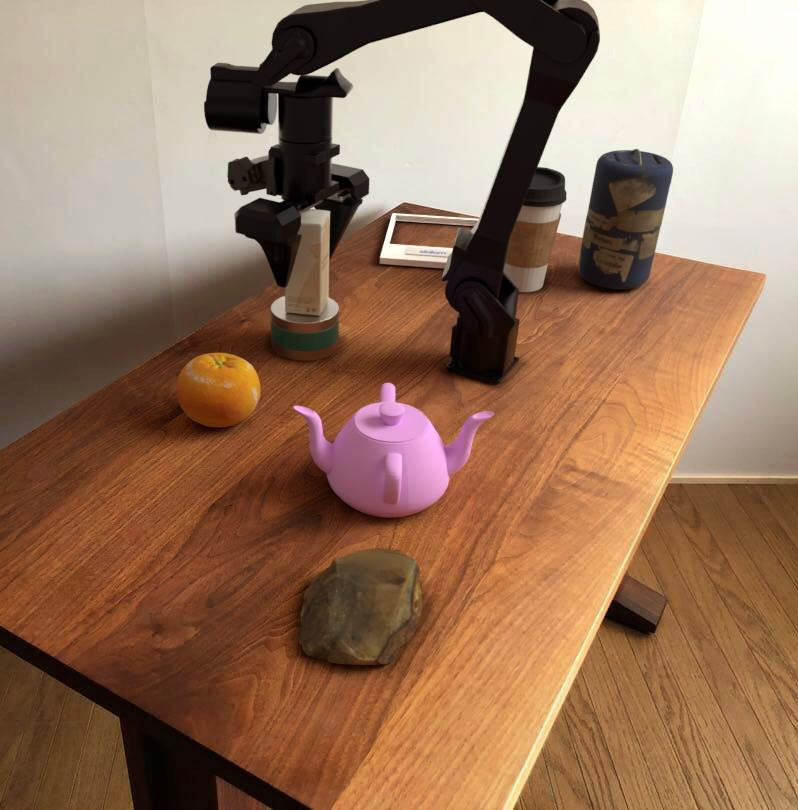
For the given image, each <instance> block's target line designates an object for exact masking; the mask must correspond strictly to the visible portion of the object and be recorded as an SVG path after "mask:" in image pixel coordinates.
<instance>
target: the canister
mask: <svg viewBox="0 0 798 810" xmlns="http://www.w3.org/2000/svg"><path fill="white" fill-rule="evenodd" d="M673 174H674V165H673V163H672V162H671V161H670V160H669V159H668V158H666V157H664V156H662V155H660V154H657V153H653V152H649V151H644V150H643V151H642V150H640V149H639V148H633V149H632V150H631V149H618V150H611V151H608V152H605V153H603V154H602V155H601V156H599V157H598V159H597V161H596V164H595V170H594V174H593V181H592V185H591V190H590V191H591V192H590V198H589V203H588V208H587V213H586V217H585V222H584V228H583V234H582V239H581V245H580V251H579V258H578V264H577V270H578V273H579V275H580V276H581V278H582V279H584V280H585V281H586V282H588V283H590V284H593V286H597V287H601V288H605V289H610V290H632V289H635V288H639V287H641V286H643V285H644V284H646V282H647V281H648V280H649V278H650V276H651V271H652V266H653V262H654V258H655V254H656V250H657V245H658V240H659V236H660V232H661V227H662V224H663V220H664V216H665V212H666V211H665V209H666V207H667V201H668V197H669V191H670V187H671V185H672V184H671V183H672V180H673Z"/></svg>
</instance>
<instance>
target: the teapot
mask: <svg viewBox="0 0 798 810" xmlns="http://www.w3.org/2000/svg"><path fill="white" fill-rule="evenodd" d="M293 409H294V411H295V412H297V413H298V414H299V415H300V416H302V417H303V418H304V420H305V421H306V424H307V427H308V432H309V433H308V434H309V449H310V450H309V451H310V454H311V458H312V460H313V462H314V464H315V465H316V466H317V467H318V469H320V470H321V471H322V472H324V473H325V474H326V478H327V481H328V484H329V485H330V488H331V489H332V491H333V492H334V494H336V496H337V497H338V498H339V499H341V500H342V501H343V502H344V503H345V504H347V505H348V506H350V507H351V508H352V509H354V510H356V511H358V512H360V513H363V514H365V515H368V516H373V517H378V518H386V519H387V518H391V519H392V518H395V519H396V518H404V517H407V516H408V517H409V516H413V515H415V514H418V513H420V512H422V511H424V510H426V509H428V508H430V507H431V506H432V505H434V504H435V503H437V502H438V501H439V500H440V499H441V497H442V496H443V495H444V494H445V492H446V490H448V487H449V483H450V477H451V476H454V474H456V473H458V472H459V471H460V470H462V469H463V468H464V467H465V465H466V464H467V462H468V460H469V458H470V455H471V453H472V447H473V443H474V438H475V435H476V432H477V431H478V429H479V427H480V426H481V425H482V424H483V423H485V422H486V421H488V420H489V419H490V418H492V417H493V416H494V415H495V412H494V411H492V410H485V411H480V412H476V413H474V414H472V415H470V416H469V417H468V418H467V419H466V420H465V421H464V422H463V423H462V426H461V429H460V431H459V434H458V436H457V438H456V439H455V440H453V442H451V443H449V444H447V445H445V444H444V442H443V440H442V438H441V436H440V434H439V433H438V431H437V429H436V428H435V426H434V425H433V423H432V422H431V421H430V419H429V418H428V417H427V415H426V414H425V413H424V412H422V411H421V410H420V409H418V408H416V407H415V406H412V405H409V404H406V403H402V402H398V401H397V402H396V387H395V385H394V384H393V383H392V382H384V383H383V384H381V386H380V392H379V402H374V403H370V404H368V405H366V406H363V407H361V408H360V409H358V410H357V411H356V412H355V413H354V414H353V415H352V416H350V418H349V420H348V421H347V422H346V423H345V424H344V426H343V427H342V428H341V429H340V431H339V432H338V434H337V435H336V437H335V438H334V441H333V442H332V443H331V442H330V441H328V440H327V439H326V437H325V436H324V430H323V422H322V419H321V417H320V416H319V414H318V413H317V412H316V411H314V410H313V409H311V408H309V407H306V406H301V405H294V406H293Z"/></svg>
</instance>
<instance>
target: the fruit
mask: <svg viewBox="0 0 798 810" xmlns="http://www.w3.org/2000/svg"><path fill="white" fill-rule="evenodd" d="M176 396H177V402H178V404H179V406H180V408H181V409H182V411H183V412H184V413H185V414H186V416H187V417H188V418H190V419H191V420H192V421H194V422H196V423H198V424H199V425H202V426H205V427H207V428H208V427H209V428H227V427H231V426H234V425H237V424H238V423H241V422H243V421H244V420H246V419H247V418H248V417H249V416H250V415H252V413H253V412H254V410H255V409H256V407H257V405H258V403H259V401H260V397H261V382H260V378H259V375H258V373H257V371H256V370H255V368H254V366H253V365H252V364H251V363H250V362H248V360H245V359H244V358H242V357H240V356H237V355H235V354H231V353H227V352H211V353H205V354H201V355H198V356H196V357H194V358H193V359H191V360H190V361H188V362H187V363H186V364H185V365H184V366H183V368H182V369H181V371H180V372H179V375H178V377H177V380H176Z"/></svg>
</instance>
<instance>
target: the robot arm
mask: <svg viewBox="0 0 798 810" xmlns="http://www.w3.org/2000/svg"><path fill="white" fill-rule="evenodd" d="M479 13H485V14H487V15H488V16H489V17H491V18H493V20H495V21H497V22H498V23H499V24H500V25H501V26H503V27H504V28H506V30H508V31H509V32H510V33H511V34H513V35H514V36H515V37H516V38H518V39H519V40H521V41H522V42H524V43H525V44H527V45H529V46H530V47H532V53H531V58H530V63H529V69H528V74H527V79H526V86H525V91H524V95H523V98H522V100H521V103H520V106H519V109H518V112H517V115H516V117H515V119H514V123H513V125H512V128H511V130H510V133H509V136H508V139H507V142H506V145H505V147H504V150H503V153H502V156H501V158H500V160H499V164H498V167H497V169H496V172H495V175H494V177H493V180H492V183H491V185H490V189H489V191H488V194H487V195H486V200H485V201H484V205H483V208H482V210H481V212H480V216H479V218H478V219H479V220H478V221H477V223H476V224H475V226H472V228H471V230H467V229H465V228H463V227H461V226H459V227H458V229H457V232H456V236H455V240H454V243H453V247H452V248H453V251H452V253H451V254H450V255H449V256H448V259H447V262H446V265H445V269H444V268H443V273H442V276H441V282H444V283H445V282H446V284H445V289H444V297H445V299H446V301H447V302H448V304H449V306H450V307H451V308H452V309H453V310H454V311H456V312H458V315H457V317H456V318H457V319H456V323H455V324H453V325H452V326H451V327H452V328H451V335H450V345H449V358H451V360H449V362H448V363H446V367H445V368H446V370H448V371H451V372H454V373H457V374H460V375H464V376H467V377H470V378H474V379H476V380H480V381H483V382H487V383H490V384H493V385H499V384H501V382H502V381H503V380H504V379H505V378H506V377H507V376H508V374H510V373H511V371H513V369H514V368H515V367H516V366H517V365H518V364H519V362H520V358H519V356H515V355H516V349H517V342H518V335H519V329H520V321H521V320H520V318H517V309H518V302H519V301H518V299H519V293H520V292H519V289H518V288H517V287H516V286H515V284H514V283H513V282H512V281H511V280H510V279H509V278H508V277H507V276H506V274H505V273H504V272H503V271H504V266H505V260H506V255H507V249H508V244H509V239H510V236H511V234H512V231H513V228H514V226H515V223H516V221H517V218H518V216H519V213H520V210H521V208H522V205H523V203H524V200H525V198H526V195H527V193H528V190H529V187H530V185H531V182H532V180H533V177H534V175H535V172H536V169H537V167H539V164H540V162H541V159H542V157H543V154H544V151H545V149H546V146H547V143H548V142H549V138H550V136H551V134H552V131H553V130H554V129H553V128H554V125H555V123H556V121H557V118H558V116H559V113H560V111H561V110H562V108H563V106H564V105H565V104H566V103H567V101H568V100H569V98H570V97H571V95H572V94H573V92H574V91H575V89H576V88H577V87H578V85H579V84H580V82H581V80H582V79H583V77H584V75H585V74H586V72H587V70H588V69H589V67H590V66H591V63H592V62H593V60H594V58H595V57H596V55H597V53H598V50H599V46H600V41H601V32H600V31H601V30H600V23H599V18H598V16H597V13H596V11H595V9H594V7H593V6H591V5H590V4H589V2H587V1H585V0H355V1H331V2H321V3H311V4H306V5H303V6H301V7H299V8H297V9H295V10H294V11H292V12H291V13H289V14H287V15H286V16H285V17H282V18H281V19H280V20H278V22H277V23H276V25H275V28H274V30H273V32H272V36H271V50H270V52H269V53H268V54H267V56H266V58H265V59H264V60H263V61H262V62H261V63H259V66H251V65H250V66H248V65H246V66H245V65H234V64H232V63H227V62H216V63H215V64H213V65H212V66H210V68H209V70H210V73H209V74H210V79H209V81H208V84H207V89H206V94H205V101H204V102H203V112H204V113H203V114H204V119H205V122H206V126H207V128H208V129H209V130H210V131H216V132H217V131H218V132H230V133H245V134H258V135H262V134H264V133H265V131H266V130H267V126H268V125H269V126H270V125H271V126H272V125H274V124H275V122H276V119H277V118H278V119H277V120H278V123H277V124H278V125H277V126H278V129H277V130H278V143H277V144H275V145H271V146H270V148H269V149H268V152H267V153H268V154H267V155H261V156H258V157H255V158H252V159H250V158H249V157H248V156H243V157H240V158H234V159H233V160H231V161H228V162H227V173H226V176H227V183H228V185H229V187H230V189H232V190H233V191H234V192H236V191H239V193H240V196H246V195H249V194H250V193H252V192H257V191H258V192H259V191H262V190H266V195H267V196H271V197H277V196H280V197H281V200H282V201H276V200H272V199H268V198H263V197H258V198H257V199H254V200H252V201H250V202H248V203H245V204H243V205H241V206H239V208H238V209H237V210H236V211H235V212H234V215H233V216H234V231H235V233H236V234H239V235H242V236H244V237H245V238H247V239H251V240H254V241H255V242H257V244H259V246H260V248H261V250H262V251H263V253H264V255H265V257H266V261H267V263H268V265H269V268H270V270H271V273H272V275H273V279H274V280H275V284H276V285H277V286H278V287H280V288H283V289H285V287H287V285H288V282H289V280H290V277H291V273H292V270H293V266H294V263H295V259H296V255H297V252H298V248H299V245H300V241H301V238H302V235H300V234H298V231H299V229H300V227H301V215H300V214H301V213H303V212H305V211H307V210H309V209H315V210H326V211H330V240H329V261H330V260H332V258H333V257H334V254H335V253H336V250H337V248H338V246H339V244H340V242H341V240H342V239H343V236H344V234H345V233H346V230H347V229H348V226H349V225H350V223H351V221H352V220H353V217H354V216H355V214H356V213H357V211H358V209H359V207H360V206H361V205H362V204H363V201H364V200H363V198H365V197H366V196H368V195H369V194H370V177H369V176H368V174H367V173H366V172H365V170H364V169H362V168H358V167H353V166H347V165H343V164H338V163H334V162H333V158H334V157H336V156H337V157H338V156H339V155H340V154H341V144H338V143H333V129H334V127H333V123H334V120H333V119H334V98H336V99H345V98H347V96H349V94H350V93H351V92H352V90H353V89H354V85H353V83H352V82H350V81H349V80H348V79H347V78H346V77H345V76H344V75H343V74H342V72H341V70H340V68H338V67H336V68H334V69H333V70H332V71H331V72H330V74H329V75H318V74H317V75H315V74H312V73H315V72H316V71H318V70H321V69H322V68H325V67H327V66H329V65H330V64H332V63H335V62H336V61H338V60H340V59H342V58H344V57H346V56H348V55H350V54H351V53H353V52H355V51H356V50H359V49H361V48H362V47H365V46H367V45H369V44H372V43H376V42H379V41H383V40H387V39H390V38H394V37H397V36H400V35H405V34H409V33H411V32H414V31H418V30H423V29H426V28H430V27H433V26H437V25H440V24H444V23H447V22H451V21H455V20H457V19H461V18H465V17H469V16H472V15H475V14H479ZM289 75H294V76H299V77H298V79H297V81H281V80H283V79H285V78H286V77H288V76H289Z"/></svg>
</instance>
